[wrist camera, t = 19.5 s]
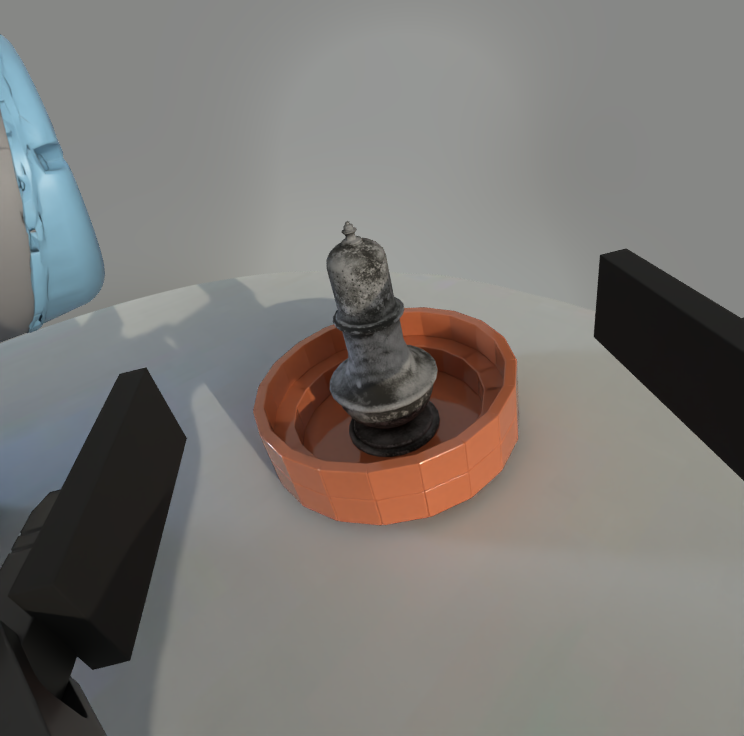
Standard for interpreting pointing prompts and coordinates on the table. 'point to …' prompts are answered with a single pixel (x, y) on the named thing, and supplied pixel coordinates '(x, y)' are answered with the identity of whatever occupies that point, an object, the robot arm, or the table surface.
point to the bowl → (405, 472)
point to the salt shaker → (378, 355)
